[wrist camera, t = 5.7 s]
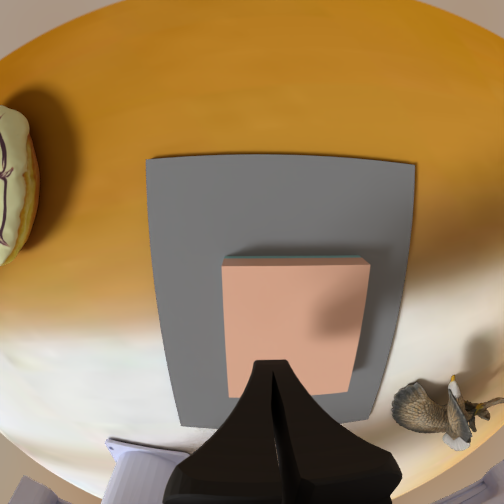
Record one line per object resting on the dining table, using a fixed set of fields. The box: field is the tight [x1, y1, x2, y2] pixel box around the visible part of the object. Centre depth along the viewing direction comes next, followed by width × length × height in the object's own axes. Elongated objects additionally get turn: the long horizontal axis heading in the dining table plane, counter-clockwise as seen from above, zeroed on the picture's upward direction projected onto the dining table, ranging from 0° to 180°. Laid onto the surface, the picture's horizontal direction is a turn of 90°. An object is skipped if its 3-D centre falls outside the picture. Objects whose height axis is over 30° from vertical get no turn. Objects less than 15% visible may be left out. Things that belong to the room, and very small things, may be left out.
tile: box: [222, 255, 370, 398], centre depth 15 cm, size 8×2×7 cm
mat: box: [146, 154, 415, 429], centre depth 16 cm, size 18×14×1 cm
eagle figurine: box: [391, 375, 504, 451], centre depth 16 cm, size 8×7×9 cm
